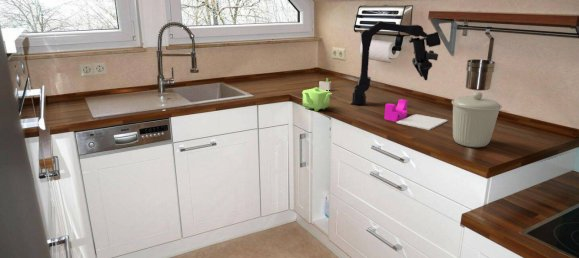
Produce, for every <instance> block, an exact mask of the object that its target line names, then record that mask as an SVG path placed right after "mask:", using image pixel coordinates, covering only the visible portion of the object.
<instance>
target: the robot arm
mask: <svg viewBox="0 0 579 258" xmlns="http://www.w3.org/2000/svg"><path fill="white" fill-rule="evenodd" d="M382 30H385V31H391V32H398V33H404V34H407V35H410V36H411V37H410V39H409V40H408V43H410V44H411V43H412V46H413V47H412V48H413V54H414V57H413V58H412V60H411V62H412V65H413V67H414V69H415V70H416V71H417V73H418V75H419V76H420V78H423V80H425V81H428V77H429V71H430V69H432V67H433V62H431V61H429V60H433V61H435V62H436V61H438V58H439V54H438V53H436V52H434V50H431V49H429V50H426V46H427V47H428V48H433V47H438V46H441V43H442V42H441V41H442V40H441V38H440V35H439V32H438V31H436V32H435V31H434V32H432V33H427V32H425V31H424V28H423V26H422V25H419V24H401V23H400V24H398V23H393V22H386V21H381V20H379V21H377V22H376V23H375V24H373V25H372V26H371V27H369V28H367V29H366V28H365V29H363V30H362V31H361V33H360V36H361V37H360V38H361V46H362V48H361V49H362V50H361V51H362V52H361V64H360V66H361V67H360V73H359V74H360V75H359V78H358V82H357V85H355V86H354V88H353V92H352V98H351V99H352V100H351V101H352V102H350V105H353V106H357V107H361V106H364V105H367V96H366V92H367V91H368V90H369V88H370V87H371V80H372V78H371V76H369V74H368V73H369V59H370V48H371V45H372V40H373V36H375V35H377V34H378V33H379V32H380V31H382ZM413 37H415V38H413Z"/></svg>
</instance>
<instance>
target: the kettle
mask: <svg viewBox="0 0 579 258" xmlns="http://www.w3.org/2000/svg"><path fill="white" fill-rule="evenodd" d="M301 94H302V107H306V110H311V109H314V112H319V110H326V108H330V105H331V103H330V102H331V95H332V94H333V93H332V92H331V90H330V91H326V90H321V89H319V87H317V86H316V87H313V88H309V89H304V90H303V91H302V92H301Z"/></svg>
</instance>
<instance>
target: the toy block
mask: <svg viewBox="0 0 579 258" xmlns="http://www.w3.org/2000/svg"><path fill="white" fill-rule="evenodd" d="M407 116H408V99H407V100H406V99H402V98H400V99H398V102H397V105H396V104H393V103H385V109H384V117H383V118H384V120H387V121H392V122H397V121H400V120H402V119H405V118H407Z"/></svg>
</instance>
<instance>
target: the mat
mask: <svg viewBox="0 0 579 258" xmlns="http://www.w3.org/2000/svg"><path fill="white" fill-rule="evenodd" d="M395 122H396V124H399V125H403V126H404V125H405V126H409V127H413V128H418V129H422V130H427V131H430V130H433V129H434V128H437V127H439V126H441V125H443V124H444V123H446V122H447V123H448V119H444V118H439V117H433V116H429V115H428V116H427V115H424V114H417V113H415V114H412V115H410V116H408V117H407V116H406V118H404V119H401V120H399V121H395Z"/></svg>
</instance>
